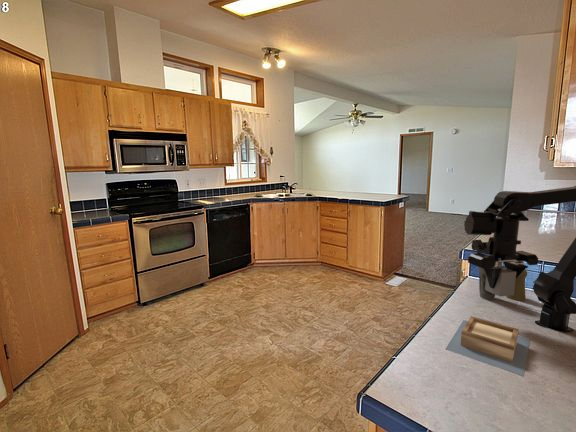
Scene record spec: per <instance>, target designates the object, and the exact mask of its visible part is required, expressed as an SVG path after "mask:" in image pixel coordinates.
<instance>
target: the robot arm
mask: <svg viewBox="0 0 576 432" xmlns="http://www.w3.org/2000/svg"><path fill="white" fill-rule="evenodd" d="M572 202H576V185H574V186H569V187H562V188H561V187H560V188H559V187H558V188H553V189H545V190H544V189H543V190H537V191H517V190H514V191H513V190H512V191H511V190H510V191H509V190H502V191H499V192H498V193H496V195H495V196H494V198H493V201H492V202H491V203H490V204H489V205H488V206H487V207H486V208H485V210H483V211H475V210H469V211H468V215H467V216H466V218H465V220H464V223H463V224H464V231H465V233H466V234H467V235H470V236H490V235H492V234H493V236H490V237H489V238H488V241H486V242H485V241H484V242H483V241H482V239H474V240H472V241H471V250H472V251H476V253H470V254H469V255H468V258H467V263H468V264H470V265H474V266H476V267H477V268H479V267H480V268H483V269H484V271H485V273H486V276H487V279H488V283H489V286H490V288H492V289H493V288H494V287H495V285H496V283H497V280H498V277H499V274H500V272H501V268H499V267H498V263H500V262H501V263H503V266H505V267H507V269H510V270H513V271H516V278H517V277H518V276H519V275H520V274H521V273H522V272H523V271H524V270H526V269H528V268H529V266H538V264H539V257H538V256H537V254H535V253H531V252H527V251H524V250H517V245H521V244H522V240H519V239H518V238H519V237H518V236H519V230H520V229H519V228H520V222H528V221H529V218H528V217H527V216H526V215H525V214H524V212H526V211H530V210H532V209H534V208H535V207H541V206H546V205H548V206H549V205H556V204H564V203H565V204H566V203H572ZM488 255H492V256H488ZM525 262H526V263H527V265H525ZM575 278H576V237H575V238H574V239H573V241H572V243H571V244H570V245H569V246H568V247H567V249H566V251H565V253H564V254H563V255H562V257H561V258H560V259H559V261H558V262H557V264H556V265H555V267H554V268H553V270H550V271H549V272H544V271H541V272H539V274H538V276H537V277H536V279H535V280H533V281H532V283H533V285H532V290H533V292H534V295H535V296H537V299H538V302H541V303H542V305H541V306H542V307H541V310H540V316H539V320H535V321H534V323H535V324H536V325H539V326H541V327H543V328H545V329H550V330H553V331H557V332H560V333H569V332H574V328H572V327H570V326H569V323H570V315H576V302H575V301H574V300H573V299H572V298H571V297H572V295H573V294H574V292H575V291H574V290H575V287H574V285H575V282H574V281H575Z"/></svg>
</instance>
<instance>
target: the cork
mask: <svg viewBox="0 0 576 432" xmlns="http://www.w3.org/2000/svg"><path fill="white" fill-rule="evenodd" d="M527 277H528V271H527V270H526V269H525V270H524V271H523V272H522V273H521V274H520V275H519V276H518V277H517V278H516V280H515V289H514V295H509V296H505V298H507V299H510V300H513V301H517V302H518V301H519V302H524V301H526V297H527V295H526V280H525V279H526V278H527Z"/></svg>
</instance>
